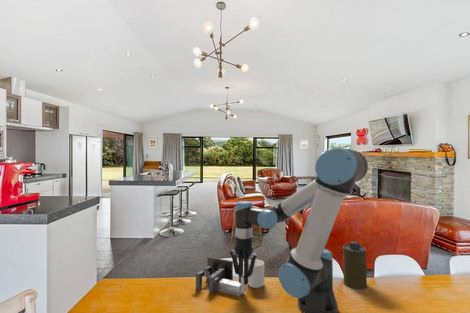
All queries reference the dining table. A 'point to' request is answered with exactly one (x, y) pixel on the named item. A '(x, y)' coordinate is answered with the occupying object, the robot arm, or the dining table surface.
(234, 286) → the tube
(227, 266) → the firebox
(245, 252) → the robot arm
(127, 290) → the dining table surface
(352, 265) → the canister
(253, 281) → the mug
